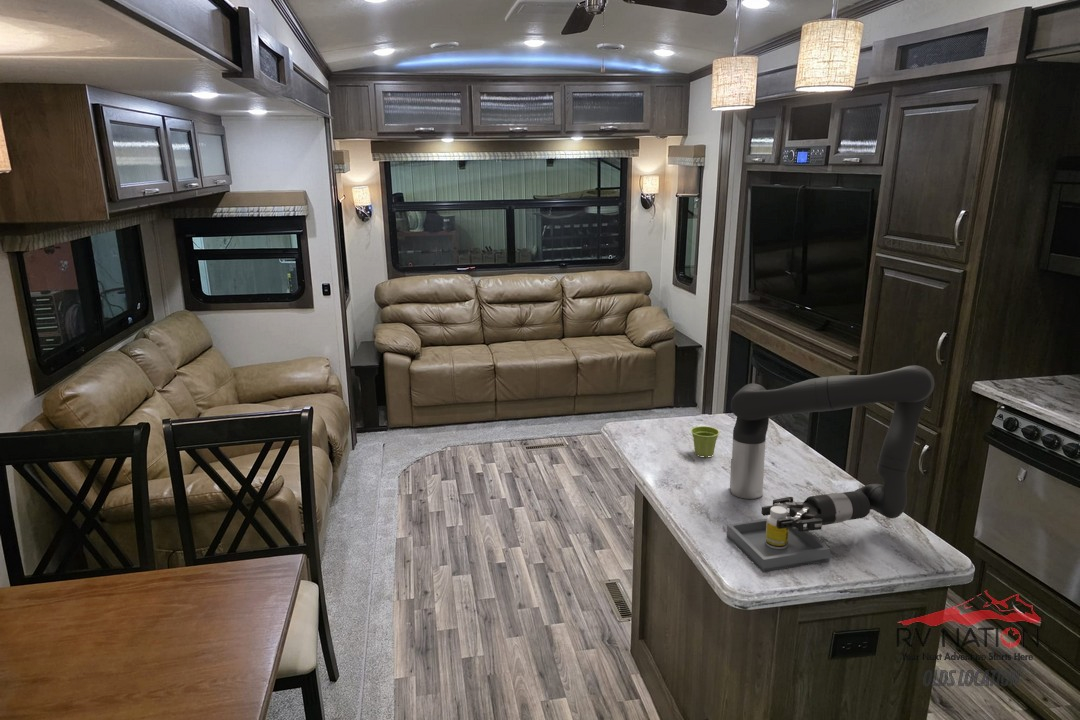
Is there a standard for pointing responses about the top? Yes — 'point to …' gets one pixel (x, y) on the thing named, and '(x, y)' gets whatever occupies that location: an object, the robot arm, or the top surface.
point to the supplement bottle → (776, 529)
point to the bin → (796, 554)
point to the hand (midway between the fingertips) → (769, 517)
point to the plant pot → (704, 440)
